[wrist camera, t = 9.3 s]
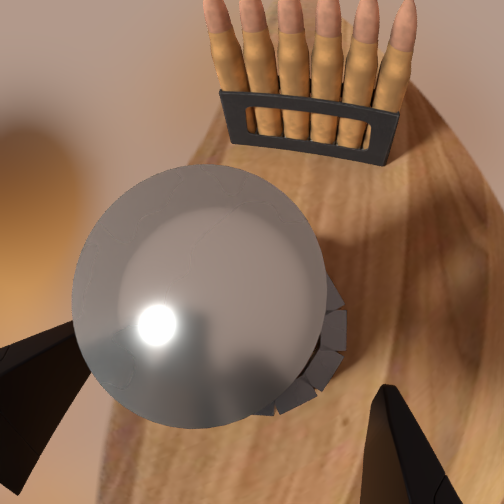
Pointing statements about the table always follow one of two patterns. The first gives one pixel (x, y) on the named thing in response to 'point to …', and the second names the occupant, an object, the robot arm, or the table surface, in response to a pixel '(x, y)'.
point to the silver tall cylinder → (199, 296)
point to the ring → (317, 358)
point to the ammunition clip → (312, 79)
